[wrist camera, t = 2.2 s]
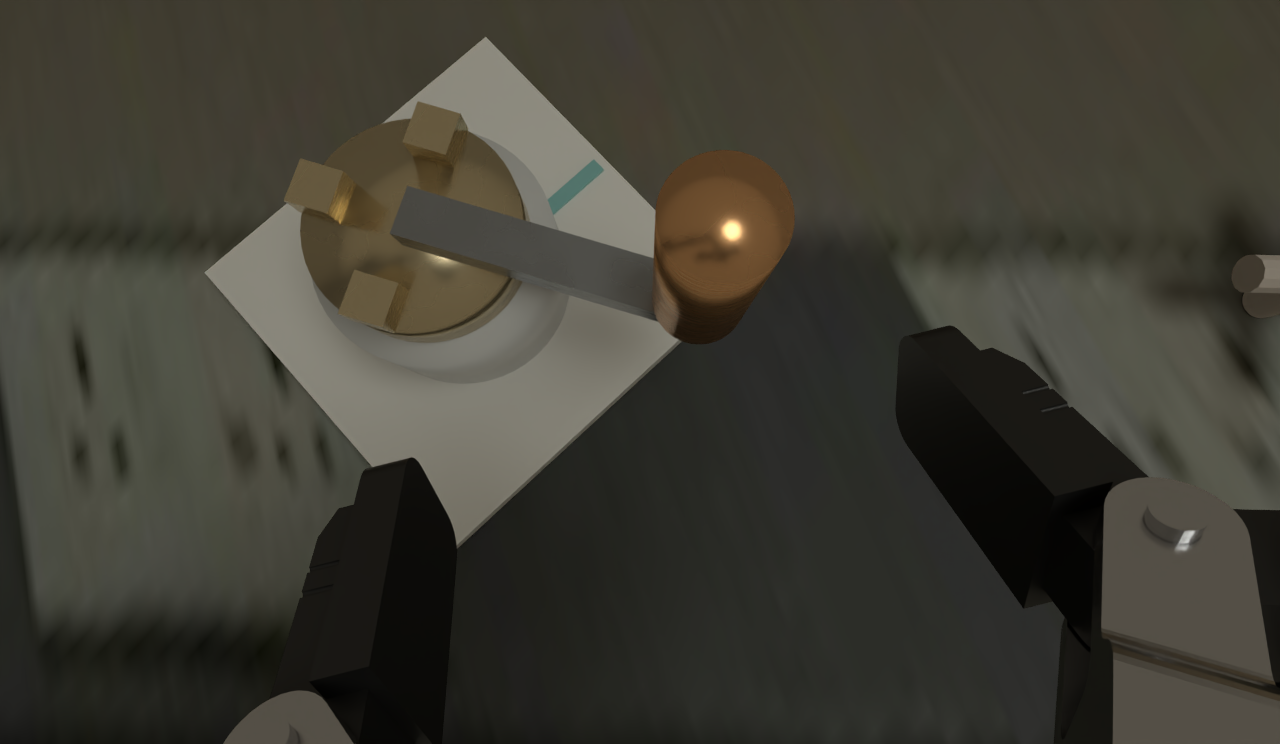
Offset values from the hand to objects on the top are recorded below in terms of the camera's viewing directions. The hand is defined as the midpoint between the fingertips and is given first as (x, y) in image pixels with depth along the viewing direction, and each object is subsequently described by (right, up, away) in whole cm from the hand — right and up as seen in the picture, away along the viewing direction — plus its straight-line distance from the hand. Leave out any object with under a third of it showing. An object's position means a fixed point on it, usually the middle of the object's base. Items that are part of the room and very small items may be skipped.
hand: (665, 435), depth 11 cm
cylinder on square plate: (-10, +6, +26) cm, 28 cm away
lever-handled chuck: (-5, +5, +18) cm, 20 cm away
